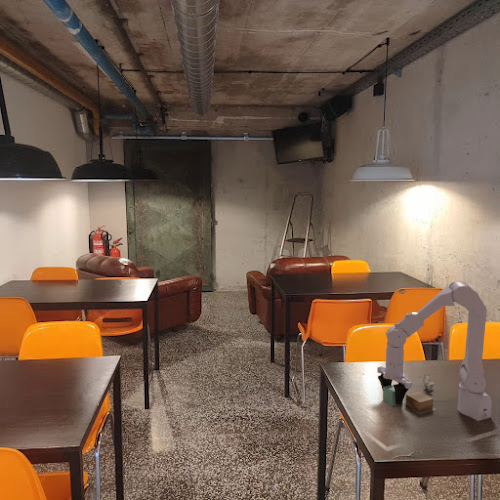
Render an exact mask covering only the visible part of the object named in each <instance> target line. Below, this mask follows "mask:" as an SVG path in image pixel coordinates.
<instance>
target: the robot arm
mask: <svg viewBox="0 0 500 500" xmlns="http://www.w3.org/2000/svg"><path fill="white" fill-rule="evenodd" d="M455 303H456V304H457V305H459V306H461V307H463V308H465V310H467V311H468V314H467V315H468V317H467V327H466V340H465V350H464V357H463V359H462V364H461V365H460V367H459V369H458V376H459V378H460V379H461V380H460V382H459V383H458V398H457V411H458V412H459V413H460V414H462V415H464V416H467V417H470V418H471V419H473V420H475V421H477V422H480V421H483V420H487V419H490V418H491V417H492V406H493V405H492V404H493V401H492V397H491V396H490V395H488V394H487V393H486V391H485V389H486V386H487V381H486V379H485V376H484V375H485V370H484V369H485V368H484V366H483V356H484V355H483V354H484V344H485V332H486V324H487V323H486V322H487V321H486V320H487V312H488V311H487V310H488V309H487V307H486V305H485V303H484V302H483V300H482V299H481V297H480V296H479V293H478V292H476V290H475V289H473V288H472V287H470V286H469V285H468V284H467V283H466V282H464V281H462V280H455V281H452V282H451V283H450V284H449V285H447V286H445V287H444V288H443V289H442V290H440V291H439V292H438V293H437V294H436V295H435V296H434V297H433V298H432V299H430V300H429V301H428V302H427V303H426V304H425V305H424V306H423V307H421V308H420V309H419V310H418V311H412V312H409V313H408V312H407V313H406V314H404V317H403V318H402V319H401V320H400V321H399V322H397V323H396V322H395V323H393V326H390V327H389V328H388V329H387V331H386V333H385V336H386V339H387V342H386V348H385V349H386V350H385V367H384V366H377V369H376V370H377V373H378V374H380V375H377V379H378V381H379V383H380V385H381V389H382V391H383V387H385V386H389V385H393V384H392V383H393V381H394V382H397V383H396V384H394V385H393V387H394V389H395V395H396V404H397V405H396V406H399V405H398V404H400V405H403V404H402V402H403V401H404V398H405V397H406V394H407V392H408V391H409V389H411V388H412V387H413V382H412V381H410V379H408V378H407V377H406V376H405V375H404V360H405V358H404V357H405V350H404V347H405V346H404V345H405V344H406V342H407V339H408V338H410V337H411V336H413V335H414V334H415V333H416V332H418V331H419V330H420V329H422V327H424V326H425V325H424V324H425V320H426V319H428V318H430V317H431V316H432V315H434V314H435V313H436V312H438V311H439V310H441V309H442V308H443V307H446V306H447V307H451V306H452V307H455V306H456V304H455ZM403 403H404V402H403Z"/></svg>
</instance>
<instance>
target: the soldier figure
mask: <svg viewBox="0 0 500 500" xmlns="http://www.w3.org/2000/svg"><path fill="white" fill-rule="evenodd" d="M423 375H424V376H423V378H422V382H423V383H424V387H425V388H426V389H427V391H428V392H431V391H435V388H434V385H435V381H434V382H433V381H432V382H431V381H430V375H431V374H430V373H429V372H425V373H424V374H423ZM432 380H435V379H434V378H433V379H432ZM433 384H434V385H433Z"/></svg>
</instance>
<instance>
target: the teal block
mask: <svg viewBox="0 0 500 500" xmlns="http://www.w3.org/2000/svg"><path fill="white" fill-rule="evenodd" d="M393 385H395V384H391V385H389V386H385V387H383V390H382V401H383V402H384V403H386V404H388V406H389V405H390V406H391V407H394V406H399V405H403V403H404V402H402V404H398V405H397V404H396V395H395V389H394V387H393Z"/></svg>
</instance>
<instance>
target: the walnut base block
mask: <svg viewBox="0 0 500 500" xmlns="http://www.w3.org/2000/svg"><path fill="white" fill-rule="evenodd" d="M405 402H406V405H408V406H410V407H411V408H413V409H414V410H416V411H418V412H422V411H426V410H430V409H433V406H434V398H432V397H431V396H429V395H427V394H425V393H423V392H421V391H415V392H411V393H406V394H405Z"/></svg>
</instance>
